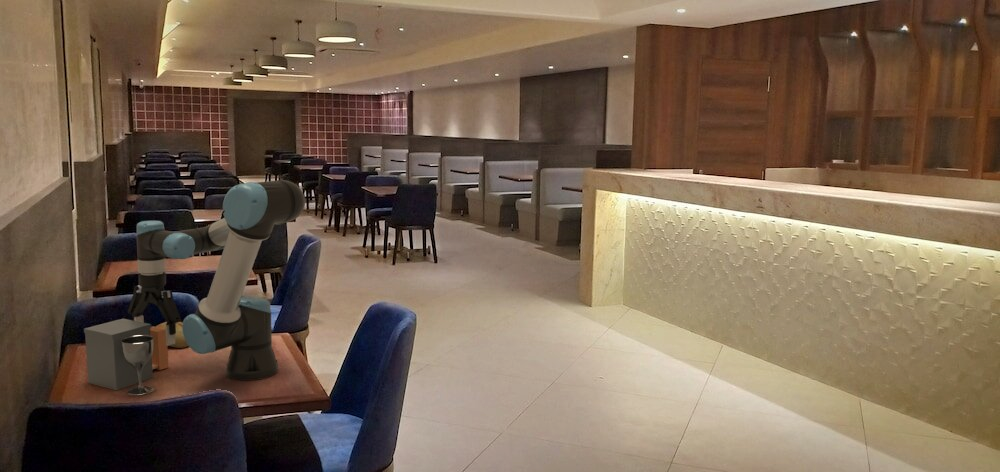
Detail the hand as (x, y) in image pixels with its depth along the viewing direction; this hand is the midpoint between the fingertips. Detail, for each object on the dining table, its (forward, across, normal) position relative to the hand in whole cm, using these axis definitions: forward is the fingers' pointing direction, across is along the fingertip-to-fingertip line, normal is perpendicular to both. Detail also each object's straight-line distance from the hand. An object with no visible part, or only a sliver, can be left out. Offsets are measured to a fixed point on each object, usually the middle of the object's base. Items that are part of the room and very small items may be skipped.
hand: (155, 340), depth 232 cm
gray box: (+8, -1, +12) cm, 15 cm away
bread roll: (+9, +15, -18) cm, 25 cm away
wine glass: (+8, -12, +15) cm, 22 cm away
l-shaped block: (+8, -1, +4) cm, 9 cm away
